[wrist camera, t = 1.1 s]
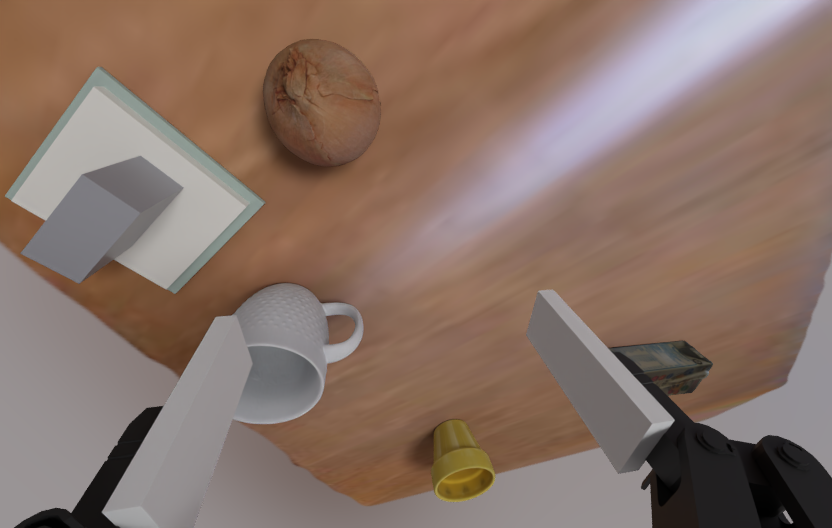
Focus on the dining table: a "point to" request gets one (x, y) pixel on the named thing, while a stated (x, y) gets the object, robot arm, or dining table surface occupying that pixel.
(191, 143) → the mat
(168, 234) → the lid
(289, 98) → the onion
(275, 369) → the mug
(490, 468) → the plant pot
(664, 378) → the beverage carton
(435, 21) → the dining table surface
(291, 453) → the dining table surface
